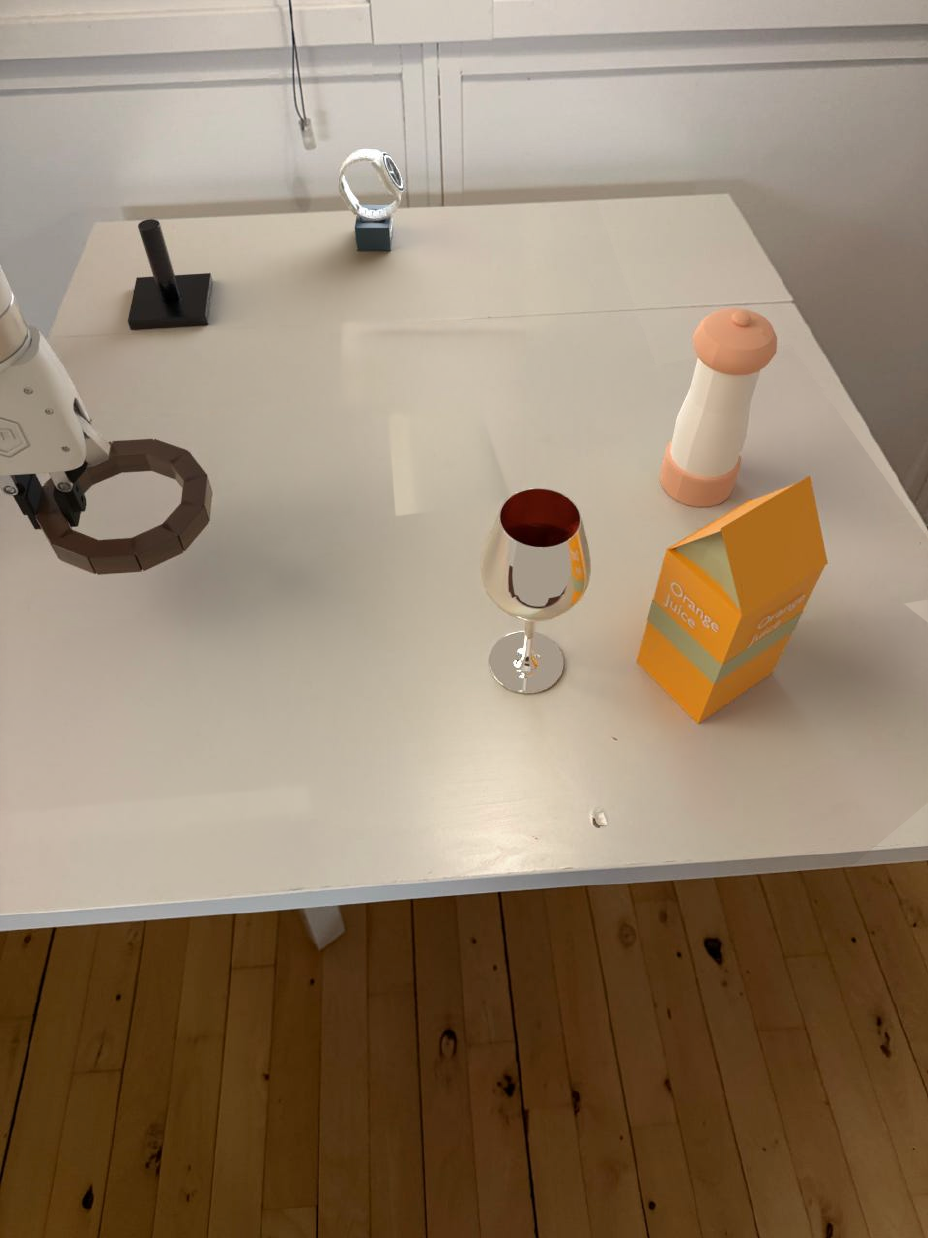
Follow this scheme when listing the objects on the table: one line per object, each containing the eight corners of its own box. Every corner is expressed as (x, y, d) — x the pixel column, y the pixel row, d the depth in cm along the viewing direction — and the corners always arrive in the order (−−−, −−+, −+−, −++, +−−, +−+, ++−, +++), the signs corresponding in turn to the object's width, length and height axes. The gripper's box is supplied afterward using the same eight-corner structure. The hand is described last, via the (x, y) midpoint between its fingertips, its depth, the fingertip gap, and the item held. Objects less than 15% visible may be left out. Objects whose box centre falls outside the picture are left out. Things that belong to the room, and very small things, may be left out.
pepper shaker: (716, 451, 92) (765, 283, 77) (744, 500, 88) (802, 333, 73) (649, 461, 92) (685, 294, 76) (674, 512, 87) (718, 345, 72)
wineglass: (561, 618, 80) (582, 469, 65) (584, 696, 75) (613, 553, 60) (470, 631, 79) (471, 483, 64) (488, 710, 74) (493, 569, 60)
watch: (406, 250, 115) (401, 164, 106) (343, 250, 115) (333, 164, 106) (408, 227, 119) (403, 141, 110) (347, 227, 119) (337, 141, 110)
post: (130, 329, 105) (101, 248, 97) (139, 285, 111) (113, 205, 103) (207, 324, 106) (186, 243, 98) (213, 281, 111) (192, 201, 103)
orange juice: (634, 661, 77) (678, 494, 61) (709, 613, 80) (770, 443, 64) (699, 726, 73) (764, 566, 57) (775, 673, 76) (857, 508, 60)
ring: (32, 579, 72) (22, 563, 70) (60, 460, 80) (52, 444, 78) (205, 567, 73) (200, 551, 71) (216, 451, 81) (211, 434, 79)
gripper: (-176, 370, 58) (-49, 556, 73) (77, 357, 59) (151, 543, 74) (-141, 301, 63) (-28, 490, 77) (93, 290, 64) (160, 478, 78)
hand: (59, 514), depth 76 cm, fingers closed on ring, 2 cm apart
